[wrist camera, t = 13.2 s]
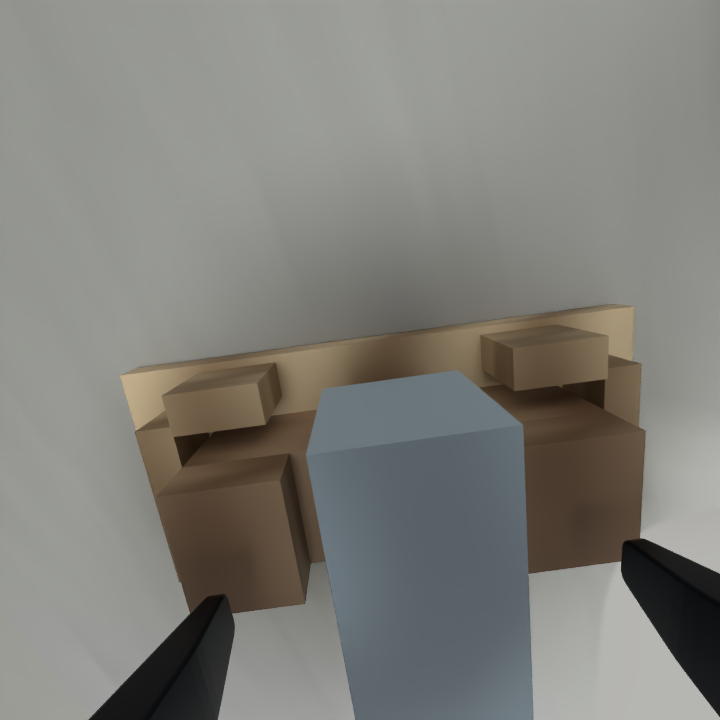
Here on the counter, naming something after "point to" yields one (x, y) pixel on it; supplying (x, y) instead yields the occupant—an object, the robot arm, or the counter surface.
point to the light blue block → (426, 547)
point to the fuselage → (299, 517)
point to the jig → (380, 376)
